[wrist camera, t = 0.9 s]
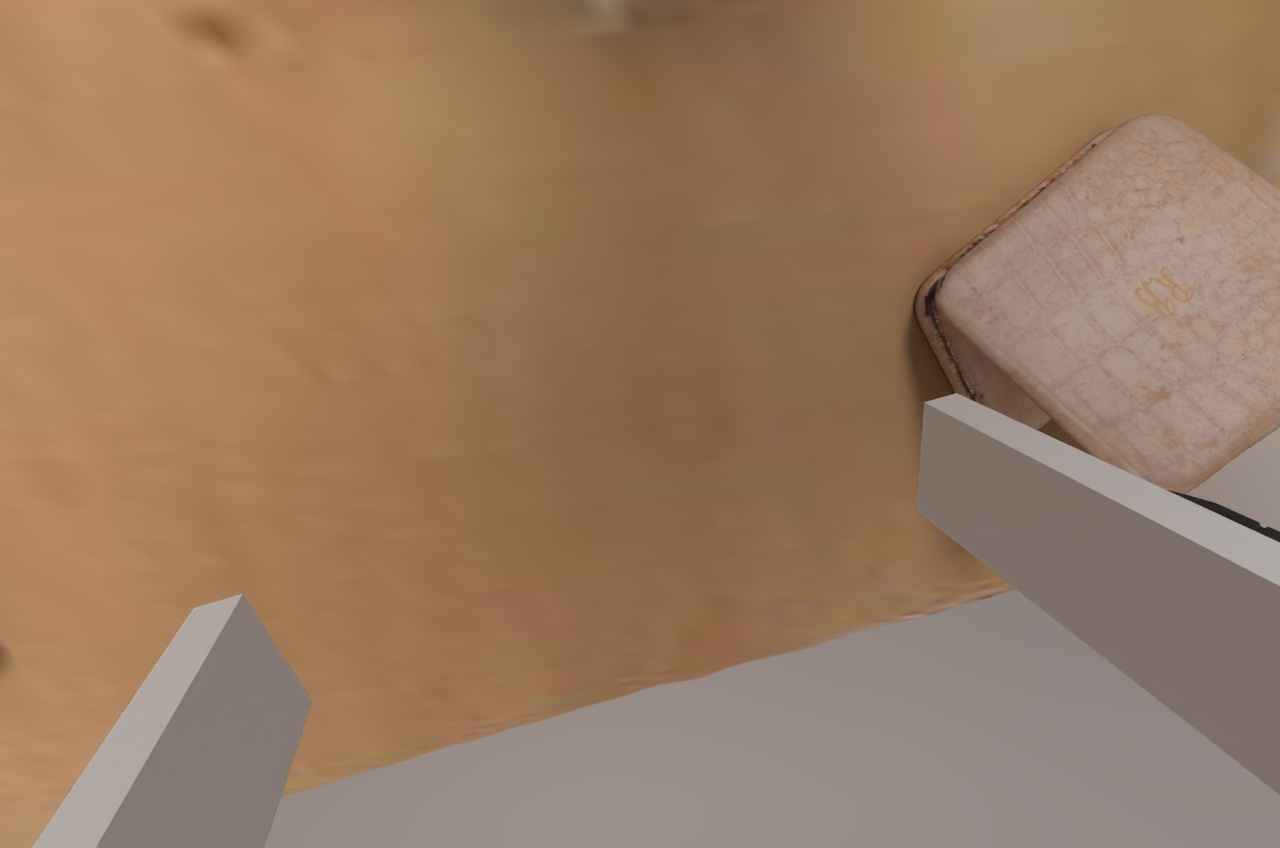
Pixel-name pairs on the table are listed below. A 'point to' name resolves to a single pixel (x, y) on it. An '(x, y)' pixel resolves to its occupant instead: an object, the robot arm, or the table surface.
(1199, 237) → the case
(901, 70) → the table surface
